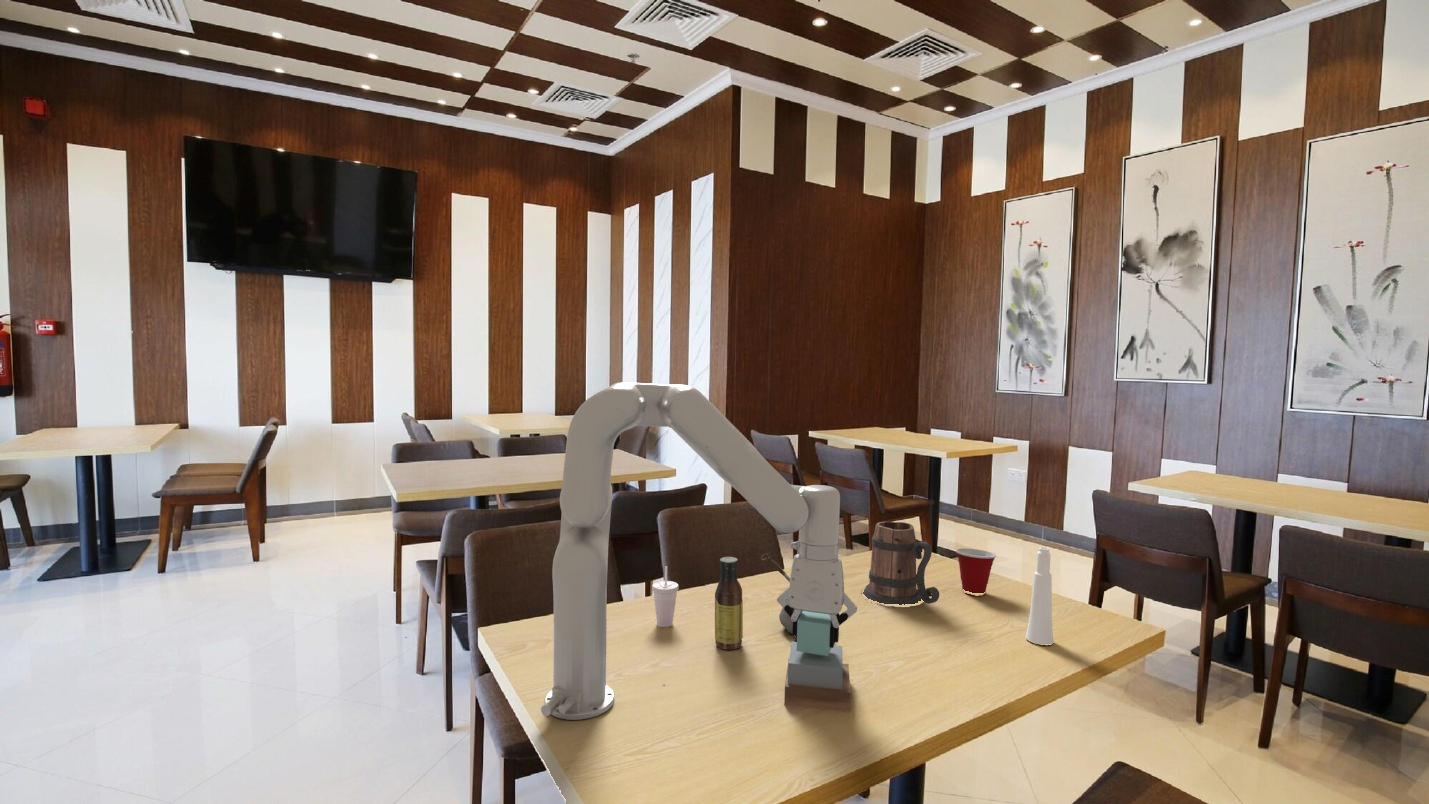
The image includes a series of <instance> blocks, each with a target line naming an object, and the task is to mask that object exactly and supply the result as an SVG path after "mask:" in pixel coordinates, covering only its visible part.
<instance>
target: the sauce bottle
mask: <svg viewBox="0 0 1429 804" xmlns="http://www.w3.org/2000/svg"><path fill="white" fill-rule="evenodd" d="M738 565H739V559H738V558H737V557H734V556H724V557H721V558H720V559H719V567H720V575H719V577H720V578H719V581H718V583H717V586H716V590H715V592H714V640H715V641H714V642H715V645H716V646H717V647H718V648H719V649H722V650H727V651H728V650H729V651H733V650H735V649H736V650H737V649H739V648H740V647H742V644H743V638H744V635H743V634H744V631H743V629H744V626H743V625H744V623H743V621H744V619H743V614H744V613H743V612H744V611H743V608H744V607H743V606H744V605H743V604H744V603H743V602H744V601H743V588H742V586H741V583H740V581H739V580H738Z"/></svg>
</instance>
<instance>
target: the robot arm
mask: <svg viewBox="0 0 1429 804" xmlns="http://www.w3.org/2000/svg"><path fill="white" fill-rule="evenodd" d="M634 427H657V428H658V427H659V428H661V427H662V428H663V427H665V428H667V427H669V428H671V430H673V431H674V432H675V433H676V434H677V435H678V436H679V437H680V438H681V439H682V441H684V442H685V443H686V444H687V445H688V446H689V447H690V448H691V449H692V450H693V451H694V452H695V453H696V454H697V455H698V456H699V457H700V458H701V459H702V460H703V461H704V462H705V463H706V464H707V465H708V466H709V467H710V468H711V469H712V470H713V471H714V472H715V473H716V474H717V475H718V476H719V477H720V478H721V479H722V480H724V481H725V482H726V483H727V484H729V485H730V486H731V487H732V488H734V490H736V492H738V493H739V494H740V495H741V496H742V497H743V498H744V499H745V500H746V501H747V502H748V503H749V505H751V506H752V507H753V508H754V509H755V510H756V511H757V512H758V513H759V514H760V515H761V516H762V518H764V519H765V520H766V521H767V522H768V523H769V524H770V525H771V526H772V527H773V528H774V529H775V530H777V531H779V532H782V533H786V534H790V533H795V532H798V540H797V541H792V542H791V544H790V548H791V549H794V550H795V551H796V552H797V554H795V555H794V556H793V560H792V564H791V570H790V576H789V577H790V582H789V587H788V588H787V589H785V590H784V591H783V592H782V593H781V594H779V595H778V597H777V598H776V601H777V603H778V604H779V606H781V608H784V610H785V611H786V613H787V614H788V615H789V616H790V617H791V620H792V621H793V632H792V636H793V637H794V642H797V622H798V619H799V617H800V613H801V611H808V612H815V613H823V614H829V616H830V618H831V621H832V625H831V627H830V648H833V647H834V645H836V643H838V642H839V640H840V639H839V638H840V631H839V630H840V626H841V625H842V624H844V623H845V622H846V621H847V620H848V619H849V618H851V617H852V616H853V615H855V614H856V613H857V612H858V607H857V605H856V604H855V603H854V602H853V601H852V599H851V598H850V597H849V596H848V595H847V593H846V592H845V585H844V584H845V583H844V582H845V581H844V568H843V564H842V563H843V562H842V558H841V557H839V541H840V539H839V537H840V509H841V494H840V492H839V490H838V489H837V488H836V487H833V486H830V485H825V484H824V485H822V484H811V485H807V486H806V485H797V484H796V485H795V484H790V483H789V482H788V481H787V480H786V479H785V478H784V477H783V475H781V474H780V473H779V472H778V471H777V470H776V469H775V468H774V467H773V466H772V464H771V463H769V462H768V461H767V459H765V457H763V455H762V454H761V453H760V452H759V450H757V449H756V447H755V446H754V445H753V444H752V443H751V441H750V440H748V439H747V437H746V436H745V435H743V433H742V432H740V430H739V429H738V428H737V427H736V426H734V424H733V423H731V421H730V420H729V419H728V418H727V417H726V416H724V414H723V413H722V412H721V411H720V410H719V409H718V408H717V407H716V406H715V405H714V404H713V403H712V402H711V401H710V400H709V399H708V398H707V397H706V396H705V395H704V394H703V393H702V392H701V391H699V390H698V389H697V388H695V387H694V386H690V385H687V384H666V383H665V384H661V383H660V384H658V383H643V382H642V383H641V382H623V381H621V382H615V383H613V384H611V385H610V386H607V387H606V388H604V389H602V390H600V391H598V392H596V393H594V394H593V395H591V396H590V397H588V398H587V399H586V400H585V401H583V403H582V404H580V406H579V408H577V410H576V411H575V413H574V415H573V417H572V419H571V421H570V423H569V426H568V431H567V435H566V444H565V446H566V447H565V455H564V462H563V474H562V483H561V485H562V486H561V489H560V493H559V507H560V511H561V517H560V518H561V519H560V530H559V531H560V533H559V542H558V544H557V547H556V550H555V552H554V556H553V561H552V571H551V573H552V591H553V592H552V593H553V687H552V688H551V690H549V692H548V693H547V694H546V695H545V698H544V704H542V706H541V708H540V712H541V714H542V715H543V717H544V716H545V717H548V716H550V715H551V716H552V717H555V718H558V719H562V720H566V721H567V720H571V721H576V720H577V721H579V720H581V721H582V720H586V719H591V718H594V717H598V716H600V715H602V714H603V713H605V712H607V711H608V710H610V709H611V707H612V706H613V705H614V702H615V693H614V690H613V689H612V688H611V687H610V686H608V685H607V622H608V621H607V602H608V601H607V598H608V597H607V589H608V587H607V586H608V564H609V563H608V560H609V559H608V558H609V540H610V539H609V538H610V529H611V527H610V526H611V515H612V504H613V503H612V500H613V487H612V483H611V481H612V480H611V479H612V465H613V459H614V457H613V456H614V446H615V443H616V441H617V438H618V437H619V436H620V434H622V433H623V432H625V431H628V430H630V429H633V428H634ZM788 597H789V602H788V601H787V598H788ZM843 606H845V607H846V610H844V611H843V612H841V611H842V609H843ZM840 613H841V614H840Z"/></svg>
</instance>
